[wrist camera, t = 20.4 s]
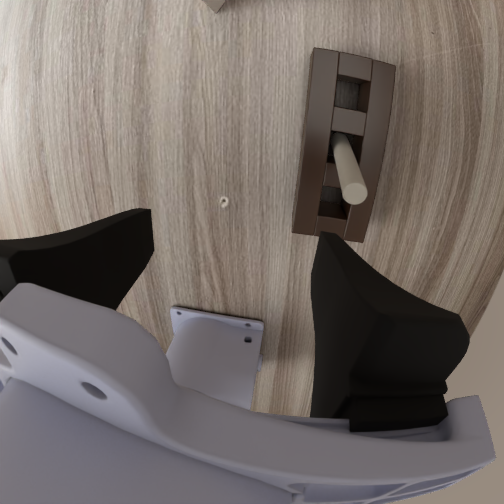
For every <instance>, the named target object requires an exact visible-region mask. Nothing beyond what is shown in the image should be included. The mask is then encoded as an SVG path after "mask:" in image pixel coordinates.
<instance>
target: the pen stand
mask: <svg viewBox="0 0 504 504" xmlns="http://www.w3.org/2000/svg"><path fill="white" fill-rule="evenodd" d="M395 71H396V66H395V65H392V64H388V63H385V62H381V61H378V60H373V59H370V58H366V57H362V56H358V55H354V54H349V53H344V52H338V51H334V50H328V49H322V48H316V47H314V48H313V51H312V54H311V57H310V69H309V79H308V90H307V99H306V109H305V118H304V127H303V136H302V144H301V153H300V161H299V168H298V176H297V184H296V191H295V198H294V206H293V213H292V233H297V234H305V235H312V236H313V235H314V236H320V231H325V232H331V233H336V234H337V235H338V236H340V237H341V238H342V239H343V240H347V241H354V242H360V243H363V242H364V238H365V235H366V231H367V227H368V223H369V219H370V216H371V212H372V207H373V203H374V199H375V195H376V191H377V186H378V181H379V177H380V172H381V167H382V162H383V157H384V152H385V146H386V140H387V134H388V128H389V121H390V115H391V107H392V99H393V91H394V82H395ZM337 80H342V81H347V82H352V83H356V84H360V87H359V96H358V105H357V111H356V110H351V109H347V108H341V107H336V106H334V102H335V94H336V84H337ZM331 130H332V131H338V132H343V133H348V134H353V141H352V147H351V148H352V151H353V153H354V156H355V158H356V161H357V164H358V166H359V169H360V172H361V174H362V177H363V180H364V183H365V186H366V189H367V197H366V199H365V200H364V201H363V202H362V203H360V204H356V205H354V204H349V203H348V202H346V201H345V200H344V198H343V197H342V202H341V204H337V203H331V202H324V201H320V199H321V193H322V187H323V186H329V187H335V188H341V185H340V180H339V176H338V171H337V166H336V162H335V158H334V156H332V155H328V149H329V142H330V134H331Z"/></svg>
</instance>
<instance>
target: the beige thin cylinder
mask: <svg viewBox="0 0 504 504" xmlns="http://www.w3.org/2000/svg"><path fill="white" fill-rule="evenodd" d="M331 145H332V149H333V154H334V158H335V162H336V166H337V171H338V176H339V180H340V185H341V190H342V195H343V198H344V200H345V201H346V202H348V203H349V204H354V205H356V204H360V203H362V202H363V201H364V200H365V199H366V197H367V189H366V186H365V183H364V180H363V177H362V174H361V172H360V169H359V166H358V164H357V161H356V158H355V156H354V153H353V151H352V148H351V146H350V143H349V141H348V138H347V136H346V135H345V134H343V133H335V134H333V135H332V137H331Z"/></svg>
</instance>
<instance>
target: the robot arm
mask: <svg viewBox="0 0 504 504" xmlns="http://www.w3.org/2000/svg"><path fill="white" fill-rule="evenodd" d="M153 252H154V241H153V230H152V218H151V209H142V208H137V209H131V210H128V211H124V212H121V213H118V214H115V215H112V216H110V217H107V218H104V219H101V220H98V221H95V222H92V223H90V224H87V225H84V226H81V227H78V228H74V229H71V230H67V231H63V232H59V233H54V234H49V235H44V236H39V237H32V238H24V239H10V240H0V504H385V503H390V502H394V501H399V500H404V499H408V498H412V497H416V496H420V495H424V494H427V493H431V492H434V491H438V490H441V489H444V488H447V487H449V486H451V485H453V484H455V483H457V482H459V481H461V480H463V479H464V478H466V477H468V476H470V475H472V474H473V473H475V472H477V471H478V470H480V469H482V468H483V467H485V466H486V465H488V464H490V463H491V462H493V461H494V460H495V458H496V455H495V451H494V447H493V442H492V438H491V434H490V431H489V427H488V424H487V420H486V417H485V413H484V410H483V407H482V404H481V401H480V398H479V396H478V395H474V396H468V397H462V398H455V399H452V400H450V401H449V402H447V403H445V400H444V396H443V394H445V393H446V392H447V390H448V388H447V385H446V382H445V380H446V379H447V378H448V376H449V375H450V374H451V373H452V372H453V370H454V369H455V368H456V367H457V365H458V364H459V363H460V362H461V360H462V358H463V357H464V355H465V354H466V352H467V349H468V346H469V342H470V336H469V334H468V331H467V329H466V327H465V325H464V323H463V321H462V319H461V317H460V316H459V315H458V314H456V313H453V312H451V311H448V310H445V309H443V308H440V307H437V306H435V305H433V304H431V303H428V302H426V301H424V300H422V299H420V298H418V297H416V296H414V295H412V294H411V293H409V292H407V291H405V290H404V289H402V288H400V287H399V286H397V285H396V284H394V283H393V282H391V281H390V280H388V279H387V278H385V277H384V276H383V275H381V274H380V273H379V272H377V271H376V270H375V269H374V268H372V267H371V266H370V265H369V264H368V263H367V262H366V261H364V260H363V259H362V258H361V257H360V256H359V255H358V254H357V253H356V252H355V251H354V250H353V249H352V248H351V247H350V246H349V245H348V244H347V243H346V242H345V241H344V240H343V239H342V238H341V237H340V236H338V235H337V234H336V233H331V232H325V231H320V236H319V241H318V245H317V250H316V254H315V259H314V263H313V268H312V272H311V301H312V311H313V320H314V330H315V367H314V381H313V393H312V403H311V412H310V417H297V416H286V415H277V414H269V413H261V412H254V411H250V409H251V403H252V397H253V391H254V386H255V380H256V374H257V371H259V372H260V370H261V364H262V358H263V355H262V354H260V348H261V342H262V335H263V328H264V323H263V322H261V321H257V320H250V319H244V318H237V317H231V316H225V315H219V314H213V313H207V312H202V311H196V310H191V309H186V308H181V307H175V306H173V307H172V308H171V309H170V313H171V320H172V326H173V332H174V337H173V339H172V342H171V344H170V346H169V348H168V350H167V353H166V355H165V354H164V352H163V350H162V348H161V347H160V345H159V343H158V341H157V339H156V338H155V337H154V336H153V335H152V334H151V333H149V332H148V331H147V330H146V329H145V328H144V327H143V326H141V325H140V324H139V323H138V322H137V321H136V320H134V319H132V318H130V317H128V316H126V315H123V314H121V313H119V312H117V311H116V309H117V308H118V306H119V304H120V303H121V301H122V300H123V298H124V297H125V295H126V294H127V293H128V291H129V290H130V288H131V287H132V286H133V284H134V283H135V282H136V280H137V279H138V277H139V276H140V275H141V273H142V272H143V270H144V269H145V267H146V266H147V264H148V262H149V260H150V258H151V256H152V254H153ZM180 312H181V313H180ZM247 323H248V324H247Z"/></svg>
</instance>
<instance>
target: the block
mask: <svg viewBox="0 0 504 504" xmlns="http://www.w3.org/2000/svg"><path fill="white" fill-rule="evenodd" d="M202 1H203V2H204V3H205V4H207V5H208V6H209V7H210V8H211V9H212V10H213V11H214V12H215V13H217V12H218V10H219V9H220V8H221V6H222V5H223V4H224V2H225V1H226V0H202Z"/></svg>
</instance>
